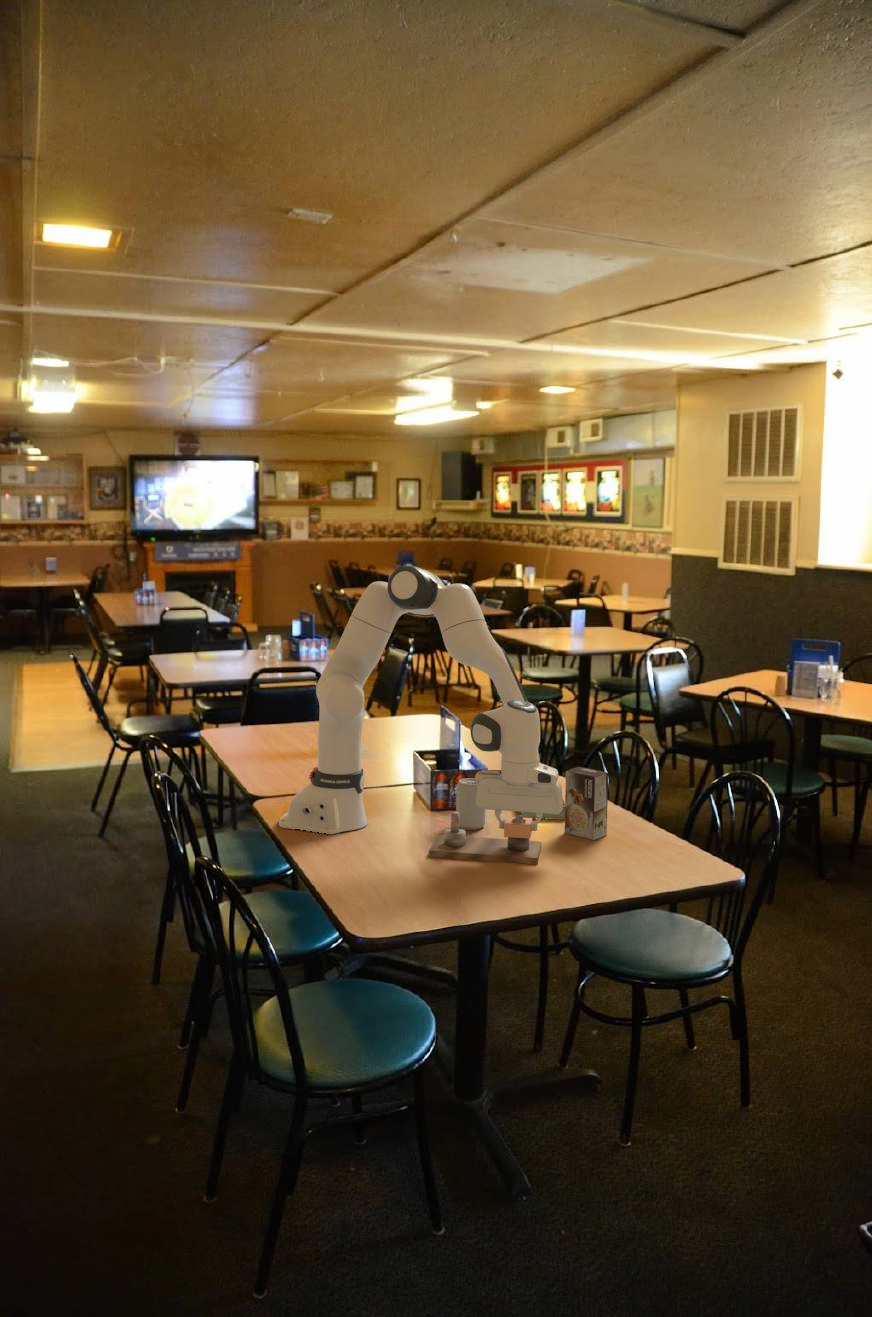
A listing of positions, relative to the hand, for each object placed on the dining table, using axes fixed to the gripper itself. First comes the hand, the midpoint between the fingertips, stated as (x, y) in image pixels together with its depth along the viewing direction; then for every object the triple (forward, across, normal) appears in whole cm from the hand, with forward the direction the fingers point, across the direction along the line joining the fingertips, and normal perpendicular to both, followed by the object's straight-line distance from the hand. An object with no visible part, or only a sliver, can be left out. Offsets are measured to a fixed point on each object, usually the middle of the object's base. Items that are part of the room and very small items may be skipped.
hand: (518, 829), depth 234 cm
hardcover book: (+7, +2, +40) cm, 40 cm away
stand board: (+6, -7, 0) cm, 10 cm away
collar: (+1, 0, 0) cm, 1 cm away
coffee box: (+6, +15, +19) cm, 25 cm away
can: (+6, -14, +19) cm, 24 cm away
